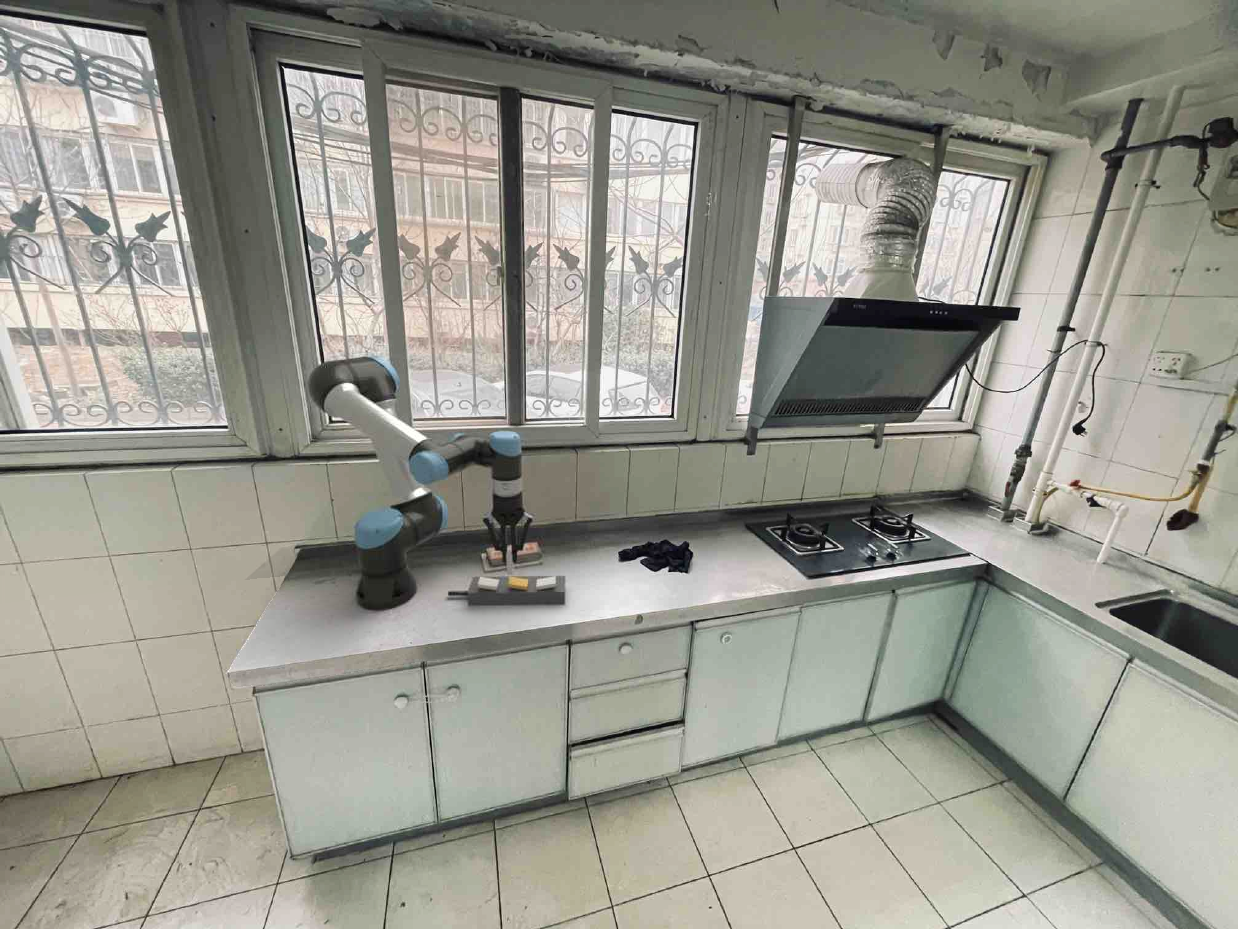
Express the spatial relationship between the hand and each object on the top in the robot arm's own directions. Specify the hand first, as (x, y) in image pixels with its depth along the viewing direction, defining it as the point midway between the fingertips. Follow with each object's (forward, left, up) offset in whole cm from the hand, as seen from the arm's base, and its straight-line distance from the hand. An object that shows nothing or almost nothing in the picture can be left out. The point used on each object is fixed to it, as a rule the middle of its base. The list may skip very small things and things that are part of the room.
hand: (510, 572), depth 133 cm
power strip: (-1, +2, -9) cm, 9 cm away
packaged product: (-2, +21, -10) cm, 23 cm away
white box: (-6, 0, -4) cm, 8 cm away
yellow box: (+2, 0, -4) cm, 5 cm away
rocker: (+10, 0, -4) cm, 11 cm away
